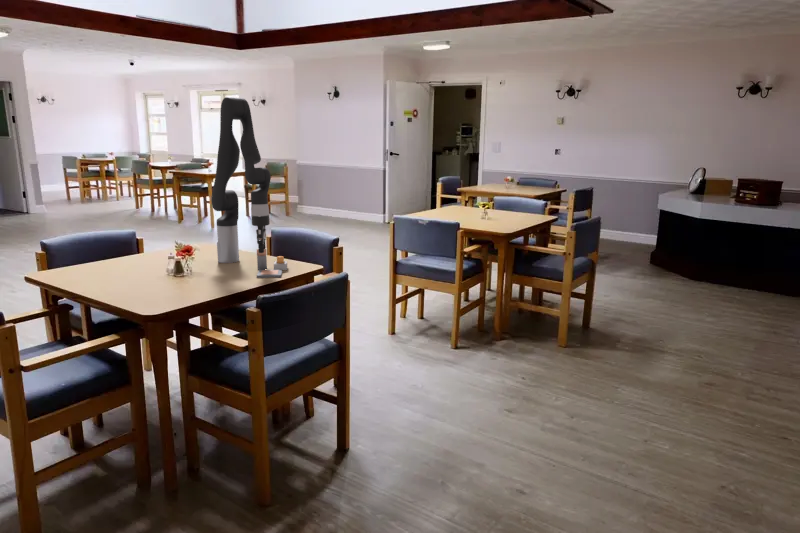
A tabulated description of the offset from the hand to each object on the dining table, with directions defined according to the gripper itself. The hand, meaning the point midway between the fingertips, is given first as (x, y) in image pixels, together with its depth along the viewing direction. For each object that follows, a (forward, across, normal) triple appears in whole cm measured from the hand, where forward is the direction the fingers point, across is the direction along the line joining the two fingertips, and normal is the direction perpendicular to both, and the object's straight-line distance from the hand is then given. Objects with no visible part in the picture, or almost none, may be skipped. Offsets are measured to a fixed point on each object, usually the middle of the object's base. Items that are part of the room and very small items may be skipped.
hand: (262, 250), depth 249 cm
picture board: (+9, +10, +4) cm, 13 cm away
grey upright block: (+8, 0, 0) cm, 9 cm away
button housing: (+9, 0, +8) cm, 11 cm away
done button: (+6, 0, +8) cm, 10 cm away
